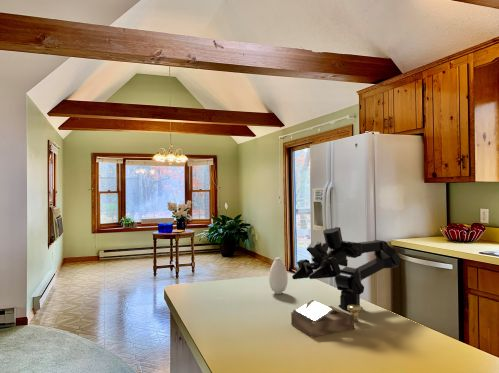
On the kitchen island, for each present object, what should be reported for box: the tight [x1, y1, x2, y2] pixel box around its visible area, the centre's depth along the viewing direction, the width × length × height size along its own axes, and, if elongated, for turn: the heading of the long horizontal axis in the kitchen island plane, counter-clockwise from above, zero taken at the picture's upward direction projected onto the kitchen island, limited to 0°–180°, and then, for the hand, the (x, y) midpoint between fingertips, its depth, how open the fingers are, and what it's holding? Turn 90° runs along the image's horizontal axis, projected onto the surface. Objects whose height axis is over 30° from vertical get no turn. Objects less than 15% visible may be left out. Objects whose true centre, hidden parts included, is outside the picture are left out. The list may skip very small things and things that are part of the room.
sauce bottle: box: [268, 252, 289, 295], centre depth 162 cm, size 8×8×18 cm
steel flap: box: [295, 299, 333, 322], centre depth 121 cm, size 7×11×1 cm, turn 24°
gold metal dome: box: [346, 305, 362, 323], centre depth 127 cm, size 5×5×5 cm
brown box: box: [290, 305, 355, 338], centre depth 122 cm, size 16×12×5 cm
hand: (300, 277), depth 128 cm, fingers open, 9 cm apart
